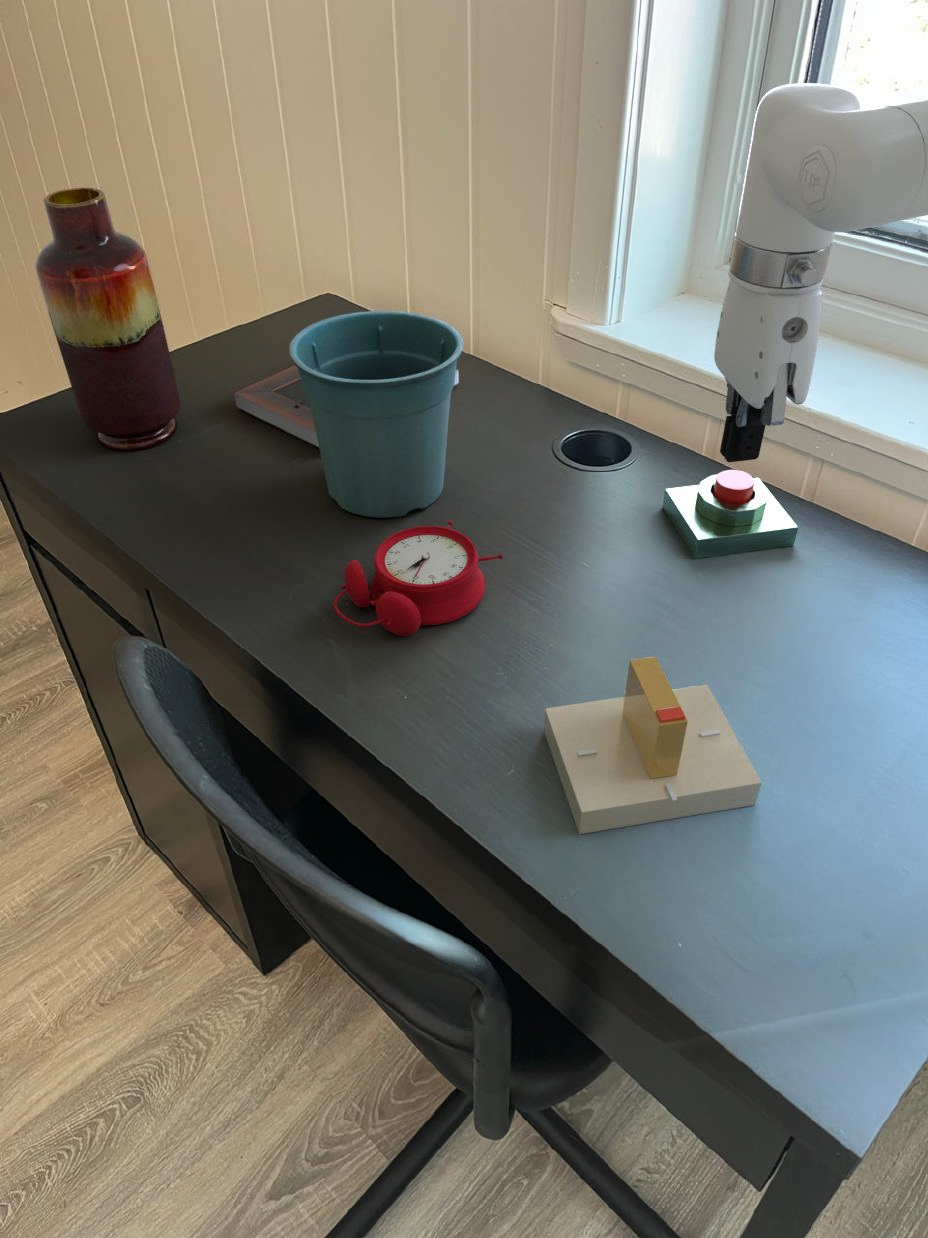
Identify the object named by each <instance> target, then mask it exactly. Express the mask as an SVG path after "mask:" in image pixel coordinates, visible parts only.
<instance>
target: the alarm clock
mask: <svg viewBox="0 0 928 1238" xmlns="http://www.w3.org/2000/svg"><path fill="white" fill-rule="evenodd" d="M453 525H454V522H453V521H451V520H449V521H448V522H447V526H446V527H445V526H440V525H439V526H438V525H420V526H413V527H409V528H406V529H403V530H399V531H397V532H395V533H393V534H391V535H389V536H388V537H387V538H385V539H384V540H383V541H382V542H381V543H380V545H379V546H378V547H377V550H376V552H375V555H374V559H373V566H374V571H375V572H374V575H373V576H372V579H371V581H370V589H369V586H368V585H369V584H368V582H367V581H368V580H367V578H366V575H365V571H364V569H363V567H362V564H361V562H360V561H359V560H358V559H355V560H352V561H350V562H348V564H347V565H345V570H344V579H345V584H343V585H340V589H341V590H343V591H342V592H340V593H339V594H338V595H337V596H336V597H335V598H334V600H333V609H334V611H335V612H336V614H337V615H338V616H339V617H341V619H342V620H344V621H346V622H347V623H348V624H351V625H353V626H357V627H364V628H365V627H370V626H371V627H372V626H375V625H378V624H380V625H381V626H382V627H383V628H384V629H385V630H387V631H388V632H390V633H391V634H393V635H396V636H400V637H407V636H411V635H413V634H415V633H416V632H417V631H418V630H419V629H420V627H421V626H435V625H442V624H446V623H450V622H454V621H456V620H458V619H461V618H463V617H464V616H466V615H468V614H470V613H471V612H472V611H473V610H475V609H476V608H477V607H478V606H479V604H481V601H482V600H483V597H484V595H485V591H486V580H485V577H484V574H483V572H482V570H481V569H480V568H479V562H483V561H490V560H496V559H499V560H503V559H504V555H503V554H501V553H500V554H499V555H496V556H483V557H479V554H478V551H477V548H476V546H475V544H474V543H473V541H472V540H471V539H470V538H469V537H468V536H466V535H465V534H463V533H462V532H459V531H458V530H455V529H452V528H451V527H452V526H453ZM347 593H348V595H349V597H350V599H351V601H352V603H353V604H354V605H355V606H357V607H359V608H369V607H370V605H372V606H375V614H376V618H377V620H374V621H372V622H367V623H359V622H356V621H353V620H351V619H350V618H348V617H346V616H345V615H344V614H342V612H341V611H340V610H339V608H338V601H339V600H340V599H341V598H342V597H343V596H344V595H345V594H347ZM370 596H371V597H370Z"/></svg>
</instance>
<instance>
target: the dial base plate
mask: <svg viewBox="0 0 928 1238" xmlns="http://www.w3.org/2000/svg"><path fill="white" fill-rule="evenodd" d="M672 690H673V692H674V694H675V696H676V698H677V700H678V702H679V704H680V706H681V708H682V710H683V712H684V714H685V716H686V718H687V720H688V723H687V728H686V733H685V738H684V743H683V748H682V753H681V758H680V763H679V768H678V773H677V775H674V776H667V777H661V778H654V779H650V777H649V775H648V772H647V770H646V768H645V765H644V763H643V761H642V758H641V756H640V753H639V751H638V749H637V746H636V744H635V742H634V739H633V737H632V734H631V732H630V730H629V727H628V725H627V723H626V720H625V718H624V715H623V707H624V699H625V692H626V690H624V691H623V695H624V696H619V697H612V698H605V699H599V700H592V701H586V702H578V703H572V704H566V705H565V704H564V705H560V706H559V705H557V706H552V707H545V708H544V716H543V717H544V718H543V732H544V736H545V738H546V741H547V744H548V748H549V750H550V753H551V756H552V759H553V762H554V765H555V768H556V771H557V774H558V777H559V779H560V782H561V786H562V788H563V791H564V794H565V797H566V800H567V803H568V806H569V808H570V811H571V814H572V816H573V821H574V824H575V826H576V829H577V832H578V835H583V834H590V833H595V832H601V831H607V830H614V829H620V828H626V827H632V826H637V825H643V824H650V823H655V822H656V823H657V822H663V821H668V820H673V819H680V818H685V817H692V816H698V815H703V814H709V813H710V814H711V813H714V812H715V813H716V812H721V811H727V810H733V809H739V808H745V807H751V806H755V805H756V804H757V800H758V797H759V793H760V790H761V786H762V780H761V778H760V777H759V775H758V773H757V771H756V770H755V768H754V766H753V764H752V763H751V761H750V759H749V757H748V755H747V753H746V751H745V750H744V748H743V746H742V744H741V743H740V741H739V739H738V737H737V735H736V734H735V731H734V730H733V728H732V726H731V724H730V722H729V721H728V719H727V717H726V715H725V714H724V711H723V709H722V708H721V706H720V704H719V702H718V701H717V699H716V697H715V695H714V694H713V691H712V690H711V688H710V686H709V685H708V684H699V685H692V686H686V687H680V688H674V689H673V688H672Z"/></svg>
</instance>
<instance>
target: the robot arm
mask: <svg viewBox="0 0 928 1238" xmlns="http://www.w3.org/2000/svg"><path fill="white" fill-rule="evenodd" d="M743 180H744V181H743V186H742V192H741V198H740V204H739V208H738V209H739V210H738V215H737V221H736V227H735V233H734V239H733V245H732V250H731V256H730V261H729V268H728V278H729V280H728V284H727V287H726V291H725V294H724V299H723V303H722V308H721V312H720V316H719V321H718V327H717V332H716V337H715V345H714V357H713V358H714V363H715V366H716V368H717V370H718V371H719V372H720V373H721V375H722V376H723V377H724V379H725V381H726V388H727V390H726V400H725V412H726V414H727V415H726V417H725V421H724V426H723V432H722V438H721V442H720V448H719V453H720V454H721V456H722V457H724V459H725V461H726V462H727V463H737V462H747V461H753V460H757V459H758V458H759V456H760V454H761V453H760V452H761V448H762V443H763V439H764V438H763V437H764V434H765V430H766V426H767V427H772V426H773V427H774V426H781V425H783V424H784V423H785V418H786V417H785V416H786V405H787V398H788V399H789V401H791V402H792V403H793V404H795V405H803V404H804V403H805V401H806V399H807V397H808V394H809V390H810V386H811V381H812V377H813V372H814V366H815V362H816V355H817V350H818V342H819V337H820V329H821V322H822V308H823V291H822V290H821V287H822V285H823V283H824V279H825V274H826V270H827V266H828V263H829V259H830V254H831V249H832V246H833V241H834V238H835V233H848V232H849V233H850V232H854V231H855V232H856V231H860V230H865V229H869V228H874V227H879V226H884V225H887V224H891V223H896V222H900V221H905V220H910V219H915V218H920V217H925V216H928V99H923V100H916V101H910V102H904V103H897V104H890V105H886V106H881V107H871V108H864V109H863V106H862V103H861V100H860V98H859V97H858V96H857V94H855V93H854V92H853V91H851V90H848V89H847V88H845V87H842V86H841V87H840V86H837V85H831V84H823V83H814V82H813V83H811V82H809V83H808V82H806V83H805V82H804V83H803V82H802V83H788V84H784V85H780V86H777V87H774V88H772V89H770V90H769V91H768V92H766V93H765V95H763V97H762V98H761V100H760V101H759V104H758V106H757V108H756V112H755V116H754V123H753V128H752V134H751V139H750V145H749V152H748V156H747V162H746V168H745V175H744V179H743Z"/></svg>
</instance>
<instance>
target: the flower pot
mask: <svg viewBox="0 0 928 1238" xmlns="http://www.w3.org/2000/svg"><path fill="white" fill-rule="evenodd" d="M463 348H464V340H463V337H462V336H461V334H460V332H458V330H457V329H456V328H454V326H452V325H450V324H448V323H447V322H445V321H443V320H440V319H437V318H434V317H432V316H428V315H423V314H419V313H414V312H406V311H397V310H395V311H393V310H368V311H358V312H351V313H344V314H339V315H336V316H331V317H328V318H324V319H321V320H319V321H317V322H314V323H312V324H310V325H308V326H306V327H305V328H303V329H302V330H301V331H299V332H298V333H297V334H296V335H295V336H294V338H292V340H291V341H290V343H289V346H288V352H289V356H290V359H291V361H292V363H293V364H294V366H295V365H296V366H297V367H298V370H299V374H300V378H301V383H302V387H303V390H304V393H305V395H306V396H307V398H308V399H309V403H310V407H311V412H312V417H313V421H314V426H315V430H316V435H317V439H318V444H319V447H318V449H319V452H320V458H321V462H322V466H323V467H322V468H323V473H324V475H325V476H324V477H325V482H326V485H327V490H328V494H329V496H330V498H331V499H334V500H335V502H336V503H337V504H338V506H339V507H340V508H341V509H342V510H344V511H346V512H349V513H352V514H354V515H357V516H362V517H367V518H377V519H379V518H380V519H383V518H384V519H386V518H387V519H388V518H397V517H402V516H406V515H407V514H408V513H409V512H411V511H412V510H416V509H419V510H424V509H425V508H427V507H430V506H431V505H432V504H433V503H435V502H436V500H438V498H439V497H440V495H441V493H442V492H443V489H444V481H445V472H446V471H445V470H446V457H447V456H446V455H447V447H448V446H447V445H448V431H449V421H450V420H449V418H450V407H451V397H452V396H451V395H452V391H453V389H454V387H455V386H454V383H455V374H456V369H457V362H458V359H459V358H460V356H461V354H462V352H463Z"/></svg>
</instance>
